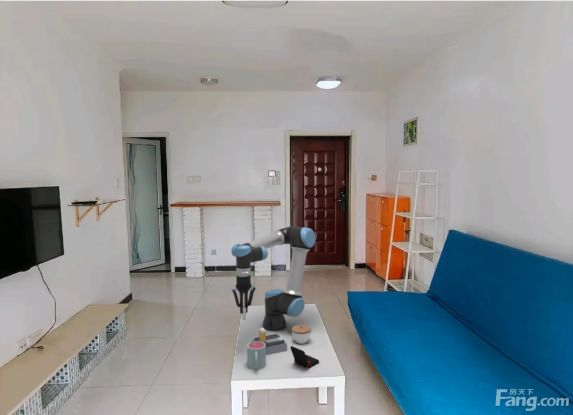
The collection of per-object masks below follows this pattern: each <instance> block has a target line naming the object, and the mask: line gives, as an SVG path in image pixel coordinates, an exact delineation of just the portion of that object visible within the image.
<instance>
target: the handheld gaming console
mask: <svg viewBox="0 0 573 415" xmlns="http://www.w3.org/2000/svg"><path fill="white" fill-rule="evenodd" d="M289 349H290V351H291V354H292V356H293V358H294V359H293V361H294V364H295V365H298V366H299V367H302V368H304V369H306V370H309V369H311V368H312V367H314V366H316V365H318V364H319V363H320V360H319V359H317V358H315V357H313V356H310V355H308V354H306V352H305V350H302V349H300V348H298V347H295V346H293V345H291V346H290V347H289Z"/></svg>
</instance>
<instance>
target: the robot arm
mask: <svg viewBox="0 0 573 415" xmlns="http://www.w3.org/2000/svg"><path fill="white" fill-rule="evenodd" d="M315 243H316V233H315V232H314V230H313V229H312V228H309V227H304V226H303V227H302V226H293V225H292V226H287V227H283V228H280V229H277V230H275V231H274V232H273V233H271V234H268V235H265V236H262V237H260V238H257V239H254V240H251V241H249V242H245V243H242V244H240V243H238V244H237V243H236V244H233V246H232V247H231V255H232V256H233V257H235V261H236V264H235V265H236V266H235V267H236V268H235V269H236V271H235V272H236V273H235V275H236V277H235V278H236V280H235V281H236V284H235V287H234V288H231V292H232V293H233V297H234V300H235V305H236V307H237V308H239V313H240V314H241V320H243V321H247V314H248V310H249V309H248V308H249V306H252V302H253V299H254V298H253V297H254V293H255V291H256V287H255V286H254V285H252V280H251V279H252V278H251V277H252V276H251V265H252V263H255V262H256V263H257V262H262V261H265V260H266V259H267V258H268V254H269V252H268V249H271V248H272V247H275V246H282V245H291V247H290V248H291V249H292V254H291V255H292V256H291V259H290V260H291V261H290V267H289V271H288V272H289V273H288V279H287V282H286V283H287V284H286V288H285V290H283V289H280V288H279V289H278V288H276V289H270V290H267V291H266V292H265V294H264V312H265V313H264V317H263V321H262V328H264V329H265V330H266V331H270V332H278V331H279V332H280V331H282V330H285V328H287V320H286V317H285V316H288V317H293V318H296V317H299V316H300V315H301V314H302V313H303V312H304V309H305V305H306V303H305V300H304V299H303V294H302V292H301V290H302V289H301V288H302V283H303V278H304V271H305V265H306V260H307V253H308V252H310V250H311V248H313V247H314V245H315ZM237 292H239V296H238V293H237ZM248 294H249V295H248ZM238 297H239V298H238Z"/></svg>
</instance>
